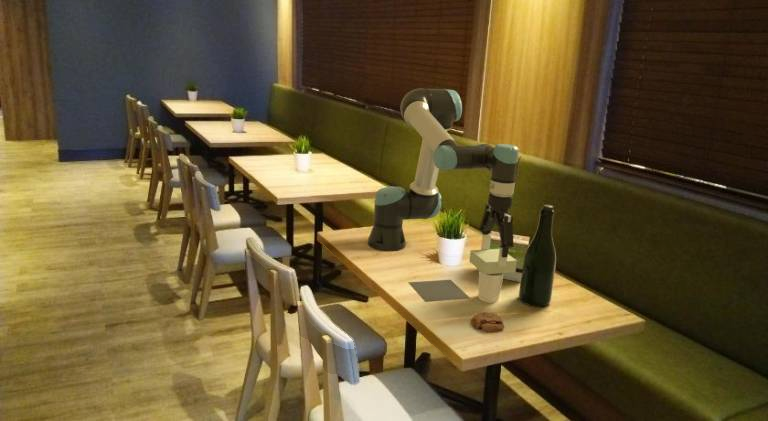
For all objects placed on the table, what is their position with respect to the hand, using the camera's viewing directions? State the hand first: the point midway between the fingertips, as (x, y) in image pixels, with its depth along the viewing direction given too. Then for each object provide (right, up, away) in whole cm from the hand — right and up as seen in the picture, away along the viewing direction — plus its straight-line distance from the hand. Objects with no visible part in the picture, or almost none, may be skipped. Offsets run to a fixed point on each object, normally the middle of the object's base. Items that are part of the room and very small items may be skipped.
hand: (493, 259), depth 198 cm
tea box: (+8, -8, +26) cm, 29 cm away
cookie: (-4, -19, -14) cm, 24 cm away
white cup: (-1, -14, +4) cm, 14 cm away
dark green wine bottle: (+15, -14, +5) cm, 21 cm away
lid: (0, -2, +1) cm, 3 cm away
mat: (-17, -11, +8) cm, 22 cm away
